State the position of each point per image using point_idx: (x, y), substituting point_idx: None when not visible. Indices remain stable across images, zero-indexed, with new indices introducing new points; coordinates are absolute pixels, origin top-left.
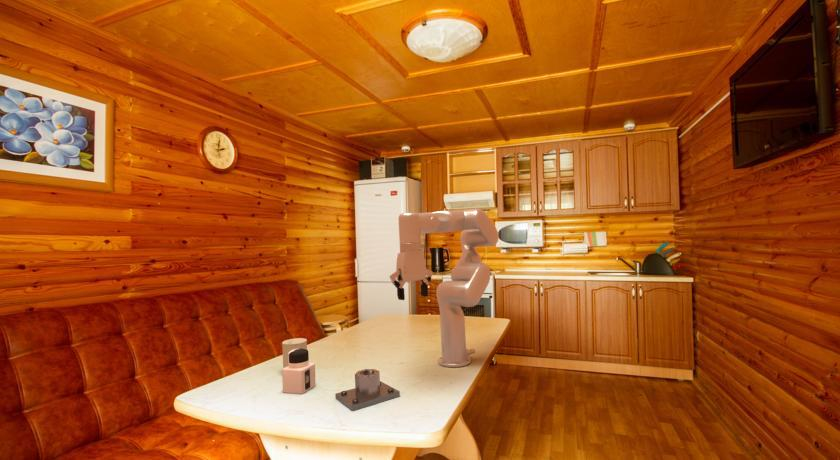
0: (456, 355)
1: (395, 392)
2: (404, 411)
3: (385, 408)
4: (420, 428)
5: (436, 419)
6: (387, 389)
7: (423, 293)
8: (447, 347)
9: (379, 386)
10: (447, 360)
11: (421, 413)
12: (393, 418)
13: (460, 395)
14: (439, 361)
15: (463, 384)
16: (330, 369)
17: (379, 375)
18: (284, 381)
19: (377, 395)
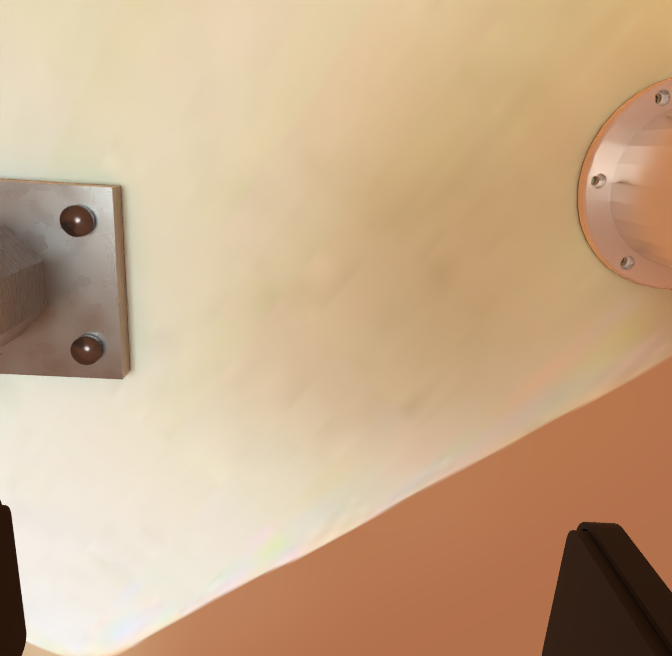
0: (662, 262)
1: (99, 375)
2: (69, 496)
3: (18, 427)
4: (49, 619)
5: (128, 608)
6: (85, 319)
7: (575, 640)
8: (664, 222)
9: (29, 320)
10: (617, 206)
11: (112, 547)
12: None
13: (334, 529)
14: (600, 146)
15: (434, 458)
16: None
17: (6, 332)
18: None
19: (11, 348)
